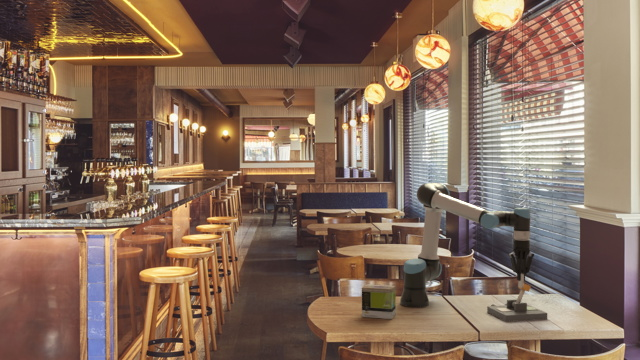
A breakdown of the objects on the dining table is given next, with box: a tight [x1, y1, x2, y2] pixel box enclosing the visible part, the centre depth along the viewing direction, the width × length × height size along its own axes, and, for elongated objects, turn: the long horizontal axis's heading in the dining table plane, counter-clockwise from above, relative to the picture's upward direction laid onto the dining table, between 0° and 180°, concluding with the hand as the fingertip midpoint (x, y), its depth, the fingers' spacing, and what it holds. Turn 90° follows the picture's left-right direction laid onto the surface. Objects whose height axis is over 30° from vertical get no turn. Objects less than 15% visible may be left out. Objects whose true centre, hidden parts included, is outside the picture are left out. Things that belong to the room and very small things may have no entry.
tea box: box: [361, 283, 397, 320], centre depth 288 cm, size 15×10×15 cm, turn 71°
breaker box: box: [486, 299, 548, 323], centre depth 293 cm, size 22×26×7 cm
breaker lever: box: [512, 282, 531, 307], centre depth 290 cm, size 3×5×13 cm, turn 12°
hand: (520, 287), depth 289 cm, fingers closed
